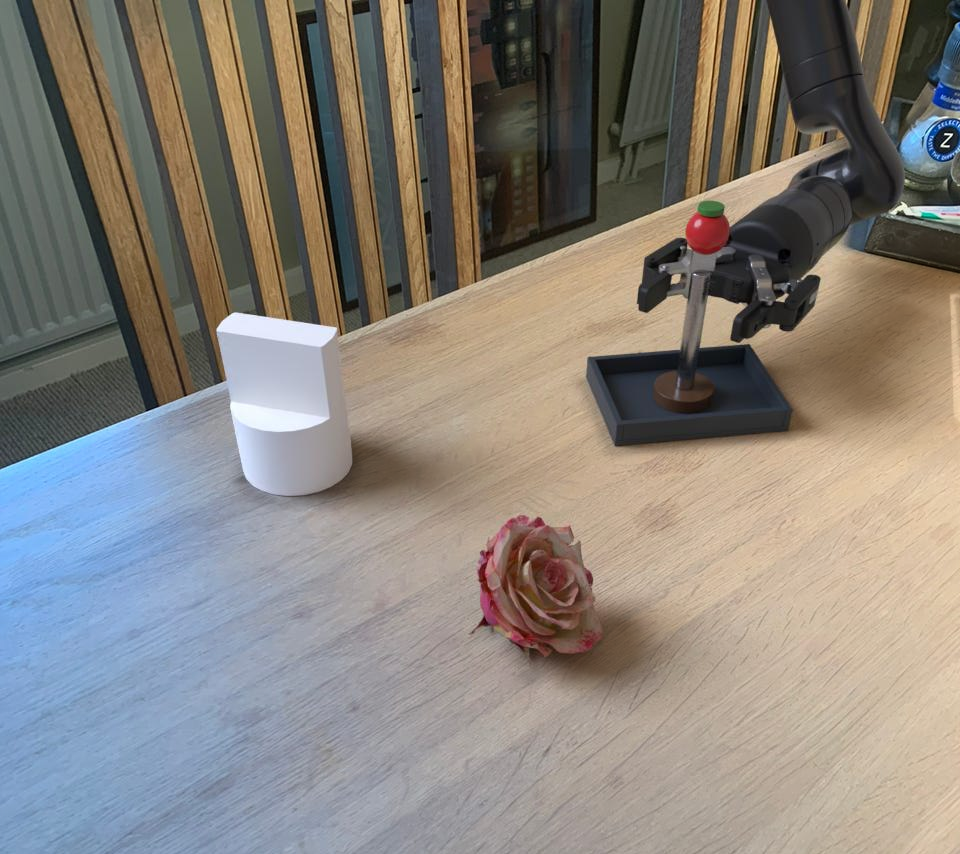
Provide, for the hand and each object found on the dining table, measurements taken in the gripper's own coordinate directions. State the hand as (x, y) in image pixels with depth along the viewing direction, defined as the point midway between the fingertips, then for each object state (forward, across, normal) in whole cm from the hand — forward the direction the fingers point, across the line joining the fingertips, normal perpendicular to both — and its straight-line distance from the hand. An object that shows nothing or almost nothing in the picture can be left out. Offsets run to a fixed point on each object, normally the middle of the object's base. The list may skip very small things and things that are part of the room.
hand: (688, 316), depth 83 cm
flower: (+30, +6, +9) cm, 32 cm away
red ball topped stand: (-2, 0, +9) cm, 9 cm away
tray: (-2, 0, +9) cm, 9 cm away
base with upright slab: (+25, -21, +9) cm, 34 cm away
